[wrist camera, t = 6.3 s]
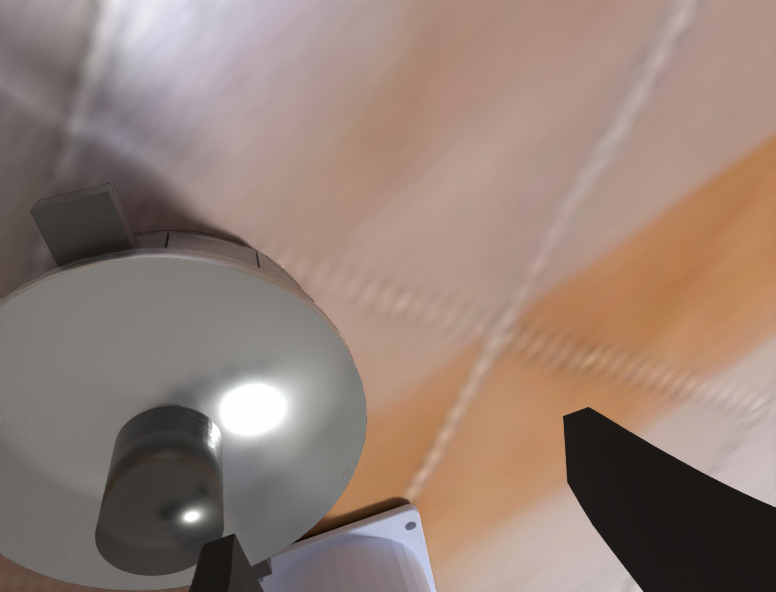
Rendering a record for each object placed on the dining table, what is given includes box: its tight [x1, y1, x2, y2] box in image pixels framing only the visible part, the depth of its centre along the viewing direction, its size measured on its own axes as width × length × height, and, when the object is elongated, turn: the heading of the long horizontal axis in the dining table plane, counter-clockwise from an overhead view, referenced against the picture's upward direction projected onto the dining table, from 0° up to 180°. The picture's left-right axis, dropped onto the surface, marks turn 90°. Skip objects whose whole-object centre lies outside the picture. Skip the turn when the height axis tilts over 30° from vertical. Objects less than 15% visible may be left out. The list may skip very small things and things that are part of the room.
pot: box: [30, 182, 314, 579], centre depth 19 cm, size 15×10×4 cm
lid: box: [0, 248, 367, 590], centre depth 16 cm, size 11×11×5 cm
